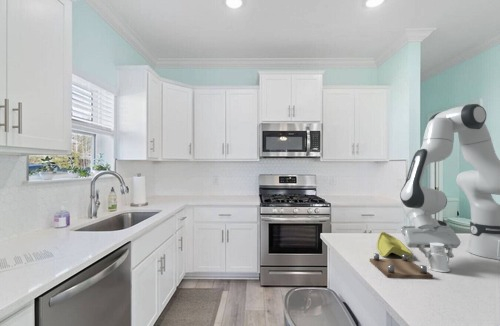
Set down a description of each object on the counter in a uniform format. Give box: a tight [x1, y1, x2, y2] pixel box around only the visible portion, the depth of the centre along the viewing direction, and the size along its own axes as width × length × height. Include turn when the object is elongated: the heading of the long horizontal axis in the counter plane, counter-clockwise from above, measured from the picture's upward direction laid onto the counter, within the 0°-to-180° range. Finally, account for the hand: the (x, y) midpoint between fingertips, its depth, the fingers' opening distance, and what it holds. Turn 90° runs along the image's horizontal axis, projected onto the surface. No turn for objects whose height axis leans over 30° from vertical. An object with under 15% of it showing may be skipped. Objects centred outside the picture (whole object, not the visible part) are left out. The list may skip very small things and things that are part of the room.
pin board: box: [369, 252, 434, 279], centre depth 101 cm, size 16×16×4 cm
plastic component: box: [376, 231, 413, 260], centre depth 121 cm, size 20×7×10 cm
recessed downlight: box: [426, 243, 451, 273], centre depth 101 cm, size 8×7×10 cm
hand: (440, 257), depth 100 cm, fingers closed on recessed downlight, 7 cm apart
